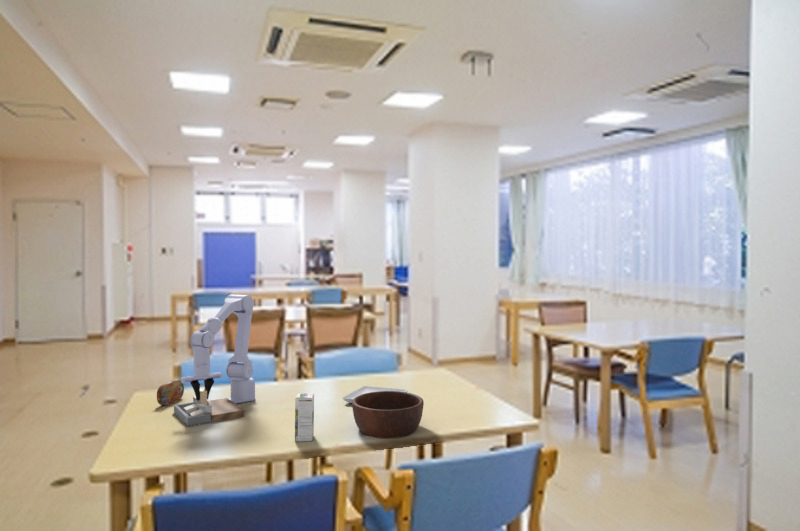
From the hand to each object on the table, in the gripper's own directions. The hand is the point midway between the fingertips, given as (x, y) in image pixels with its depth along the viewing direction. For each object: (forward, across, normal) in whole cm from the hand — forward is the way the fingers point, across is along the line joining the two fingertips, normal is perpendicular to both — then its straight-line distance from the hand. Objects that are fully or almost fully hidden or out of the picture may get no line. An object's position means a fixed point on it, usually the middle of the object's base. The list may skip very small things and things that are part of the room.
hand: (202, 399), depth 201 cm
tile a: (+5, -3, +4) cm, 8 cm away
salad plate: (+7, +64, -21) cm, 68 cm away
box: (+6, -4, 0) cm, 7 cm away
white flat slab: (+3, 0, 0) cm, 3 cm away
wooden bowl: (+7, +48, -53) cm, 72 cm away
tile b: (+5, -3, -4) cm, 7 cm away
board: (+6, +6, 0) cm, 9 cm away
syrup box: (+6, +20, -45) cm, 50 cm away
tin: (+6, -6, +26) cm, 27 cm away
